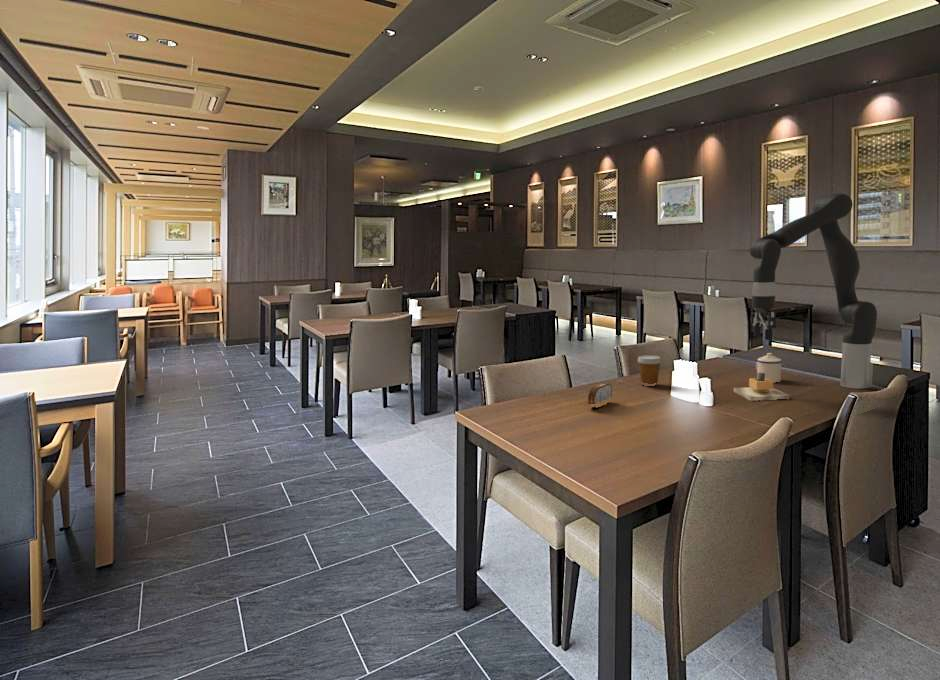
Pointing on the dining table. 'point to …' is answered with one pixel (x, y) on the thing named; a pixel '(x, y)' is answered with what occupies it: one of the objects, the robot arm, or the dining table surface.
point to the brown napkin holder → (599, 393)
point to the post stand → (761, 392)
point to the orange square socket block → (760, 384)
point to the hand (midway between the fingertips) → (762, 338)
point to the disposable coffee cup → (649, 368)
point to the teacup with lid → (769, 367)
